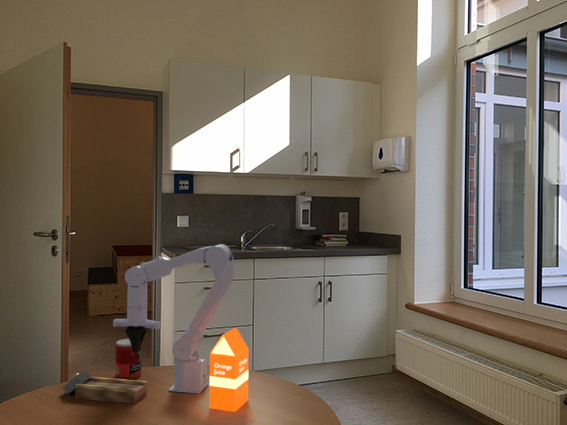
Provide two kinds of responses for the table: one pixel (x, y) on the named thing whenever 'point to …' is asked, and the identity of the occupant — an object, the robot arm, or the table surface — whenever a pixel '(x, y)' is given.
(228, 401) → the orange juice
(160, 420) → the table surface
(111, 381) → the wooden channel tray
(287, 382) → the table surface
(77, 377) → the grey block with knob
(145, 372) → the table surface
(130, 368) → the canned food
